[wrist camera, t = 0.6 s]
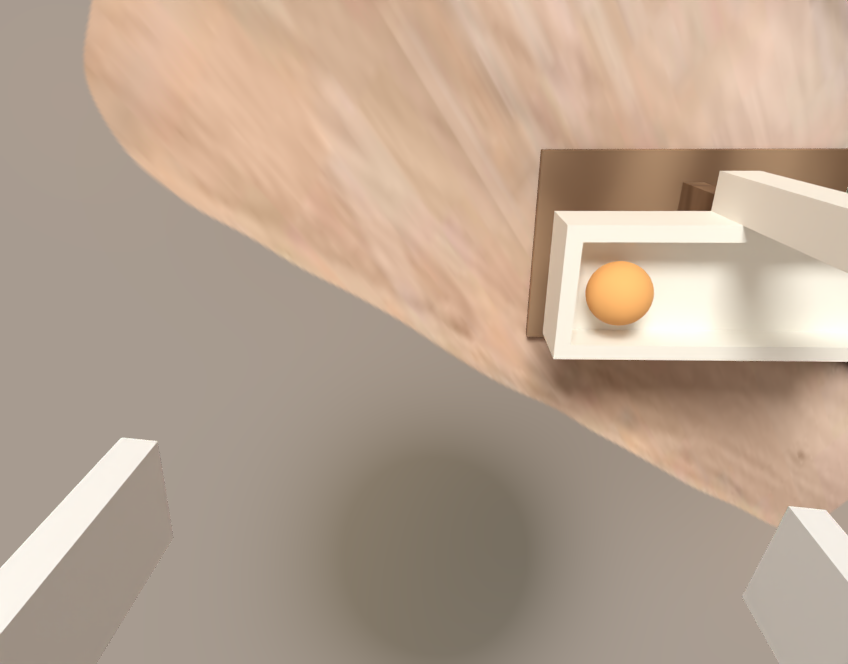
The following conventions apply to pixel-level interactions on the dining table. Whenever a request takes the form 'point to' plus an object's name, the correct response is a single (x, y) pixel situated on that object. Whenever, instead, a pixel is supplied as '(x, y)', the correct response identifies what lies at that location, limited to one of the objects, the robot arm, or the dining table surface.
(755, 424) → the dining table surface
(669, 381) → the dining table surface
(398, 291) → the dining table surface
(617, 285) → the ball
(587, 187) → the stand
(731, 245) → the seesaw
